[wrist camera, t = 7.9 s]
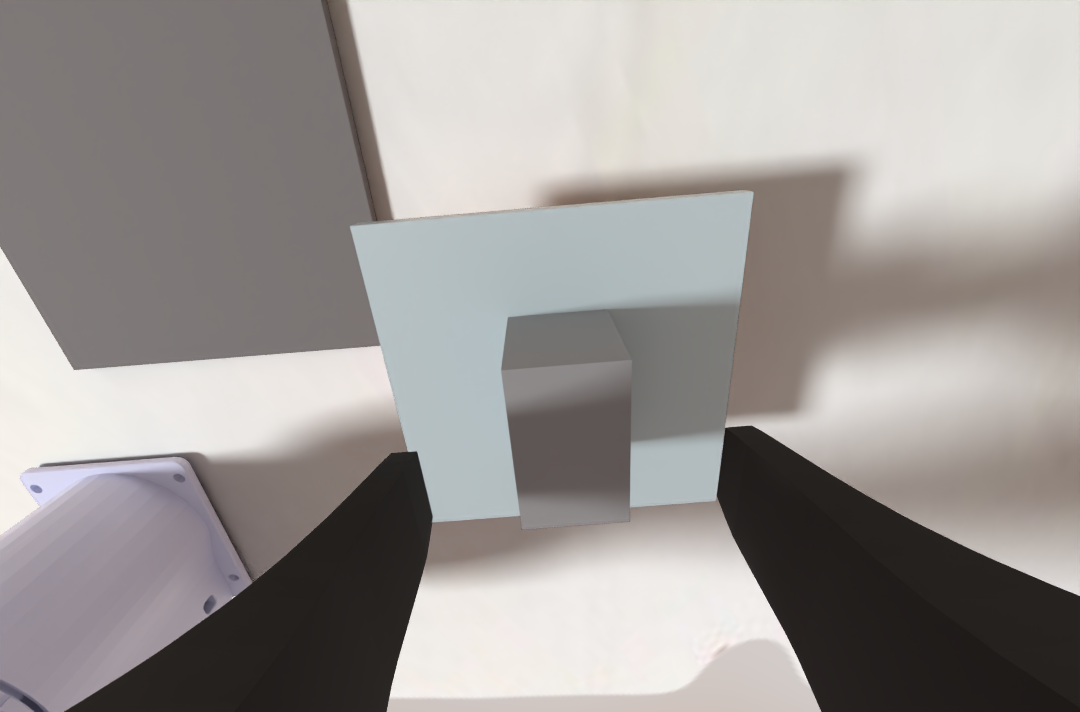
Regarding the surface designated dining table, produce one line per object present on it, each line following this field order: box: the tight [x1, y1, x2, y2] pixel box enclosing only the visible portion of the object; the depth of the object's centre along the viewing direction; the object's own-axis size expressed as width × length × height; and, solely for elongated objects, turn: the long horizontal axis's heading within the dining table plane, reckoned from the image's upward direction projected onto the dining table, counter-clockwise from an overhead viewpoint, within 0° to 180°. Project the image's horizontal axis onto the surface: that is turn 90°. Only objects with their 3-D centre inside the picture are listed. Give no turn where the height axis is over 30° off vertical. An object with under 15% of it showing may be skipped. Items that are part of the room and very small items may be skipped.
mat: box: [0, 0, 381, 370], centre depth 16 cm, size 14×14×1 cm
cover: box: [350, 190, 754, 530], centre depth 13 cm, size 11×11×4 cm
